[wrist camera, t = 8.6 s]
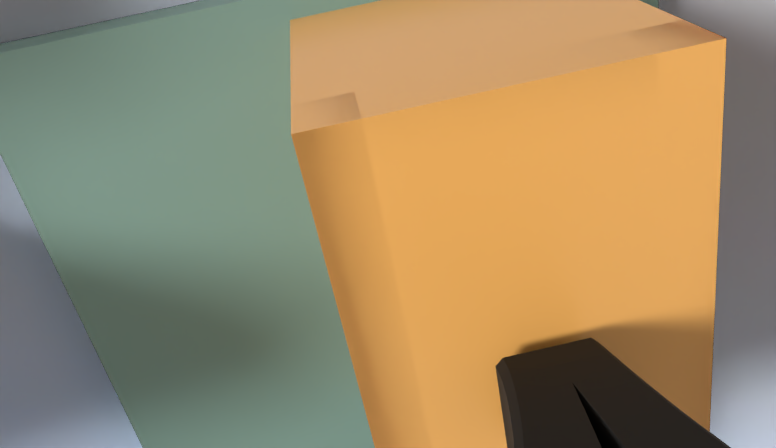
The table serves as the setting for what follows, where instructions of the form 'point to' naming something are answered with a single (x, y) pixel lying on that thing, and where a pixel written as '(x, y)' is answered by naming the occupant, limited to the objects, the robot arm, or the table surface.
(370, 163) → the block
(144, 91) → the board
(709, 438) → the robot arm
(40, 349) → the table surface
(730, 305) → the table surface
